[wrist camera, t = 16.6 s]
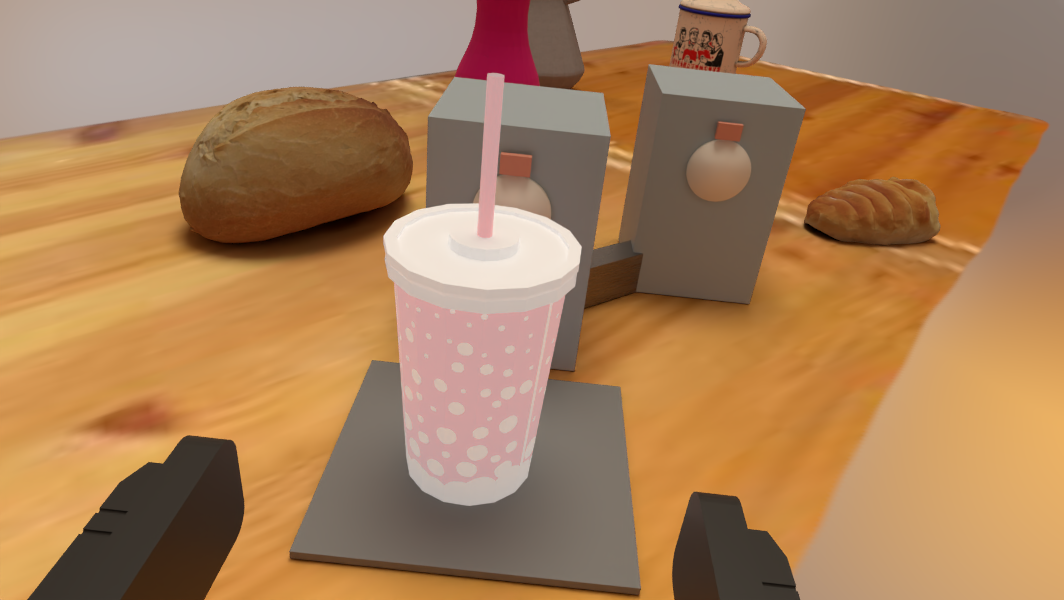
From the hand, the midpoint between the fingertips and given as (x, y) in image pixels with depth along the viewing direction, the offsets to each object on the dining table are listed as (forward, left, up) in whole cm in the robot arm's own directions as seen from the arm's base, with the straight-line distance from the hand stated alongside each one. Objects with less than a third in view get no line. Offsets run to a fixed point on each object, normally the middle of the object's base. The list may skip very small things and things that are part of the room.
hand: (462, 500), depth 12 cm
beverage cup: (+6, +9, -9) cm, 14 cm away
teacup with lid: (+73, +53, -10) cm, 91 cm away
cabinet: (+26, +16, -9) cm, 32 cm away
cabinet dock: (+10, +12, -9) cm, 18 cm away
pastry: (+45, +14, -10) cm, 48 cm away
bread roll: (+10, +32, -10) cm, 35 cm away
